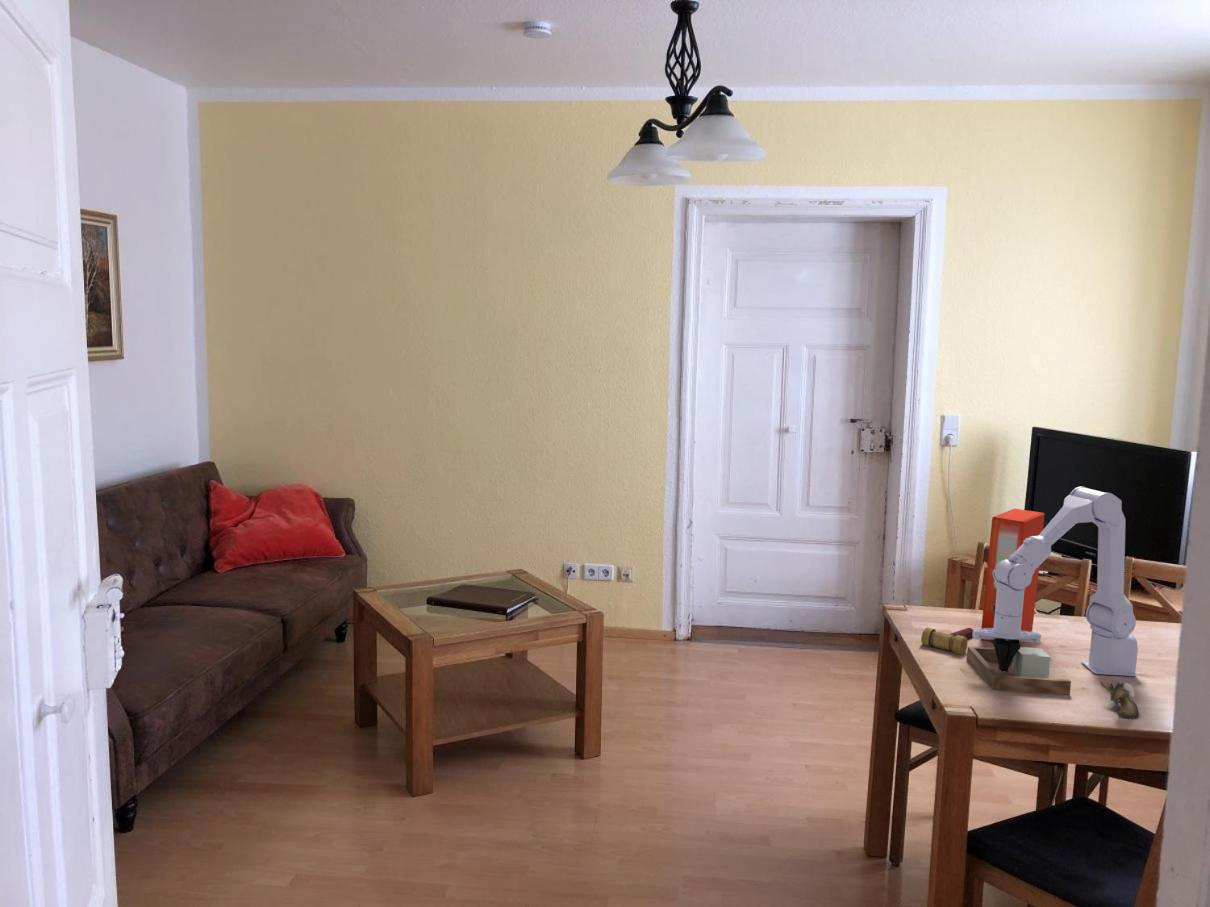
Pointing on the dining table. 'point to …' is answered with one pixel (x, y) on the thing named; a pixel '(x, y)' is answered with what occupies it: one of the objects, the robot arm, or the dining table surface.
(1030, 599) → the file binder
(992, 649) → the wooden frame
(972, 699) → the dining table surface
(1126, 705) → the eagle figurine
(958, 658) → the dining table surface
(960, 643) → the gavel
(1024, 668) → the cube
